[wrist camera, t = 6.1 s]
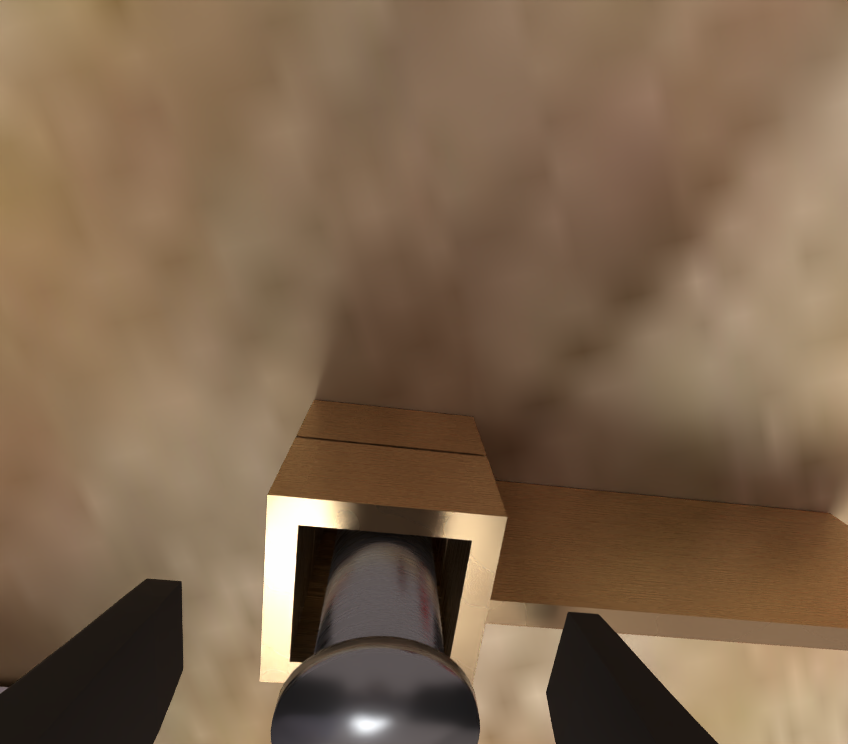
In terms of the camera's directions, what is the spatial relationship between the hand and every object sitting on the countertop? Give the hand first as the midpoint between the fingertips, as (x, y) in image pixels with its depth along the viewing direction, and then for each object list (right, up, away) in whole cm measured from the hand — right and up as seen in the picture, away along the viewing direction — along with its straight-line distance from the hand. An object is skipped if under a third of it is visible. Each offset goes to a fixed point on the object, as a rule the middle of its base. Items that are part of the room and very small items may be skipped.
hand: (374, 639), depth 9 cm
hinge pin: (0, +2, +5) cm, 6 cm away
